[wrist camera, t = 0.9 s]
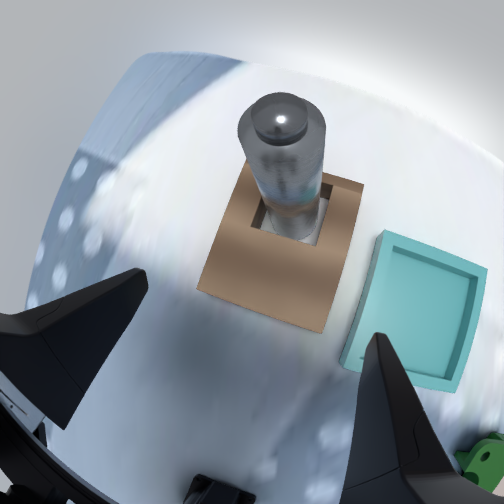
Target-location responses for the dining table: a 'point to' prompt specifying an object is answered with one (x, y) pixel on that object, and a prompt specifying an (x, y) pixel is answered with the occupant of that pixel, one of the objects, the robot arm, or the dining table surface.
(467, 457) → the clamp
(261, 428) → the dining table surface
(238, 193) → the socket block
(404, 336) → the tray
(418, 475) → the robot arm
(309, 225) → the grey capped bottle
